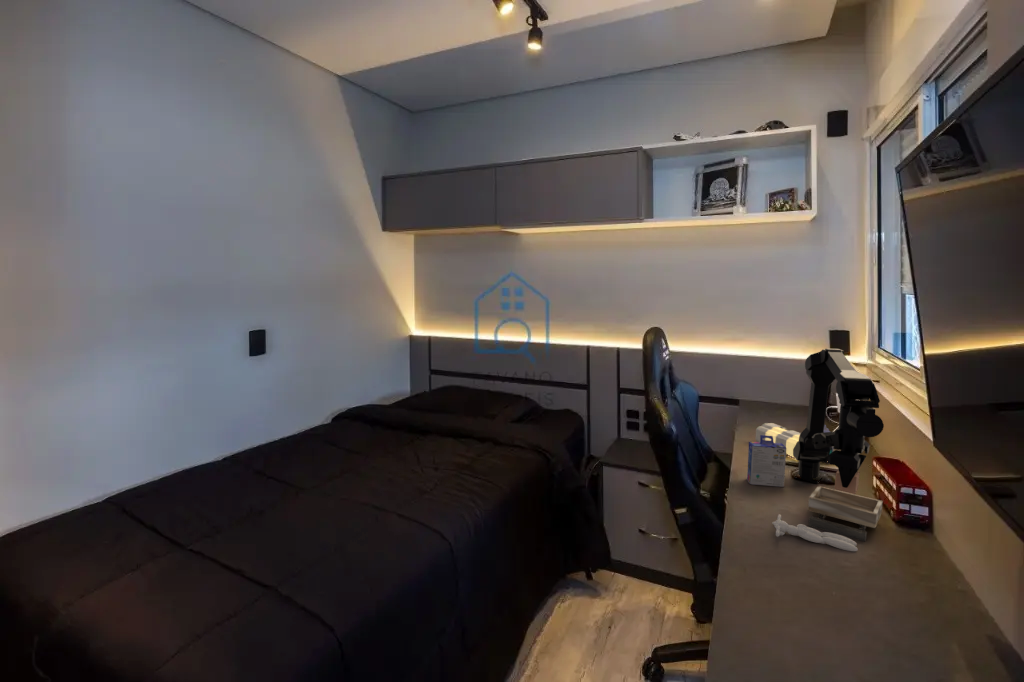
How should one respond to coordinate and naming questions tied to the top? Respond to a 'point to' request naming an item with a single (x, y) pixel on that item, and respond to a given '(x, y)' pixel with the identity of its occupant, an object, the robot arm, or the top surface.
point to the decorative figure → (814, 535)
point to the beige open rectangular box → (845, 506)
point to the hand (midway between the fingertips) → (846, 484)
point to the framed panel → (838, 528)
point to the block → (852, 486)
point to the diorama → (781, 436)
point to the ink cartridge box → (766, 462)
